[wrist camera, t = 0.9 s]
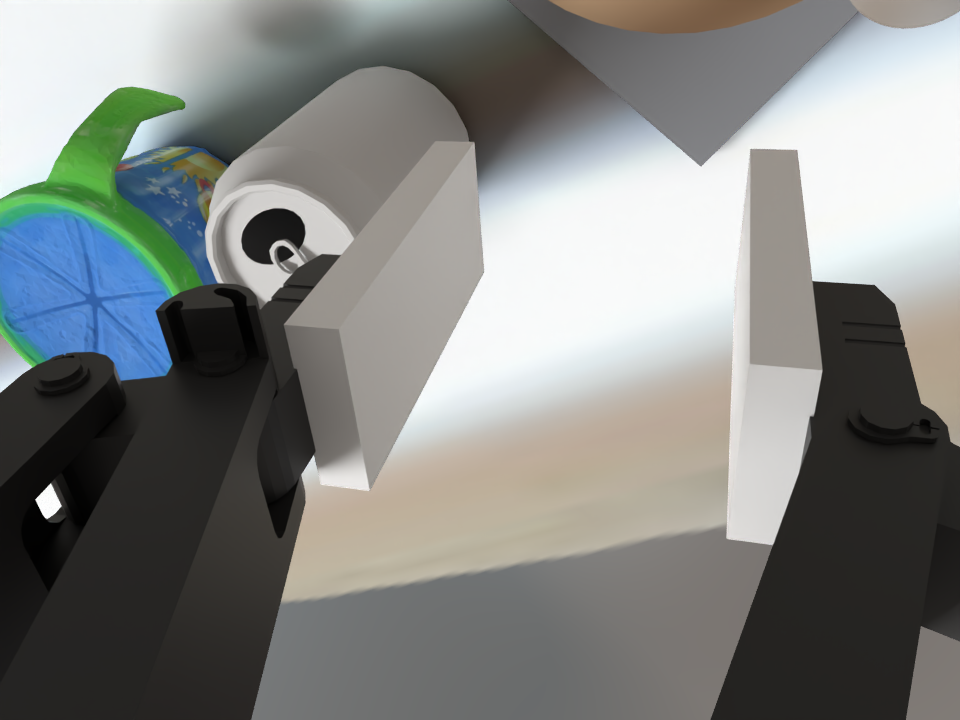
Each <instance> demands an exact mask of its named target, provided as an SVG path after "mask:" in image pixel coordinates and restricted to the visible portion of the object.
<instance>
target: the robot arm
mask: <svg viewBox="0 0 960 720" xmlns="http://www.w3.org/2000/svg"><path fill="white" fill-rule="evenodd" d="M483 273H484V264H483V250H482V237H481V224H480V210H479V197H478V183H477V170H476V157H475V143H474V142H453V141H435V142H434V144H433V145H432V146H431V147H430V148H429V150H428V151H427V152H426V153H425V154H424V156H423V157H422V158H421V159H420V160H419V162H418V163H417V164H416V165H415V167H414V168H413V169H412V170H411V171H410V173H409V174H408V175H407V176H406V177H405V179H404V180H403V181H402V182H401V183H400V185H399V186H398V187H397V188H396V189H395V191H394V192H393V193H392V194H391V196H390V197H389V198H388V199H387V200H386V202H385V203H384V204H383V205H382V206H381V208H380V209H379V210H378V211H377V212H376V214H375V215H374V216H373V217H372V219H371V220H370V221H369V222H368V223H367V225H366V226H365V227H364V228H363V229H362V231H361V232H360V233H359V234H358V235H357V237H356V238H355V239H354V240H353V241H352V243H351V244H350V245H349V246H348V248H347V249H346V250H345V251H344V252H343V254H342V255H333V254H321V255H319V256H317V257H316V258H314V259H312V260H310V261H309V262H307V263H305V264H303V265H302V266H300V267H298V268H297V269H296V270H295V271H294V272H293V274H292V275H291V276H290V277H289V278H288V279H287V280H286V281H285V283H284V284H283V287H280V288H279V289H278V290H277V292H276V293H275V294H274V295H273V296H272V297H271V301H268V302H267V303H266V304H265V305H264V306H263V307H262V308H261V309H260V308H259V304H258V300H257V296H256V295H255V294H254V293H253V291H252V290H251V289H250V288H247V287H244V286H241V285H238V284H227V283H217V284H210V285H203V286H198V287H195V288H192V289H189V290H186V291H183V292H180V293H178V294H177V295H175V296H173V297H171V298H169V299H168V300H166V301H165V302H164V303H163V304H162V305H161V306H160V307H159V308H158V309H157V310H156V311H155V312H156V315H157V318H158V321H159V324H160V327H161V330H162V333H163V336H164V339H165V342H166V345H167V348H168V351H169V355H170V358H171V361H172V365H171V367H170V369H169V371H168V373H167V375H166V376H159V377H150V378H141V379H131V380H122V381H121V380H120V377H119V375H118V372H117V369H116V367H115V364H114V362H113V361H112V360H111V359H110V358H109V357H108V356H107V355H103V354H99V353H96V352H72V353H66V355H64V354H61V355H58V356H54V357H52V358H51V359H49V360H47V361H45V362H42V363H40V364H37V365H36V366H34V367H33V368H31V369H30V370H28V371H27V372H25V373H24V374H22V375H21V376H20V377H19V378H17V379H16V380H15V381H14V382H13V383H12V384H10V385H9V386H8V387H7V388H6V389H5V390H3V391H2V392H1V393H0V720H251V718H252V714H253V710H254V706H255V701H256V698H257V694H258V690H259V686H260V682H261V678H262V674H263V670H264V665H265V661H266V658H267V654H268V650H269V646H270V642H271V638H272V633H273V630H274V626H275V622H276V618H277V614H278V610H279V606H280V602H281V598H282V594H283V590H284V586H285V582H286V578H287V574H288V570H289V566H290V562H291V558H292V554H293V550H294V546H295V542H296V538H297V534H298V530H299V526H300V522H301V518H302V514H303V510H304V506H305V489H304V485H303V481H302V477H301V474H302V473H303V471H304V469H305V468H306V466H307V465H308V463H309V461H310V460H311V458H312V457H313V455H314V457H315V461H316V465H317V470H318V474H319V478H320V483H321V485H329V486H336V487H344V488H351V489H359V490H366V491H370V490H371V488H372V486H373V484H374V482H375V480H376V478H377V476H378V474H379V472H380V470H381V468H382V467H383V465H384V463H385V461H386V459H387V457H388V455H389V453H390V451H391V449H392V447H393V445H394V444H395V442H396V440H397V438H398V436H399V434H400V432H401V430H402V428H403V426H404V424H405V422H406V421H407V419H408V417H409V415H410V413H411V411H412V409H413V407H414V405H415V403H416V401H417V399H418V398H419V396H420V394H421V392H422V390H423V388H424V386H425V384H426V382H427V380H428V378H429V376H430V375H431V373H432V371H433V369H434V367H435V365H436V363H437V361H438V359H439V357H440V355H441V353H442V352H443V350H444V348H445V346H446V344H447V342H448V340H449V338H450V336H451V334H452V332H453V330H454V329H455V327H456V325H457V323H458V321H459V319H460V317H461V315H462V313H463V311H464V309H465V307H466V306H467V304H468V302H469V300H470V298H471V296H472V294H473V292H474V290H475V288H476V286H477V284H478V283H479V281H480V279H481V277H482V275H483ZM900 327H901V325H900V321H899V317H898V313H897V310H896V306H895V304H894V303H893V302H892V301H891V300H890V299H889V298H888V297H887V296H886V295H885V294H883V293H882V292H881V291H880V290H879V289H878V288H877V287H876V286H875V285H864V284H848V283H831V282H815V281H812V274H811V265H810V257H809V248H808V239H807V231H806V222H805V213H804V204H803V196H802V187H801V178H800V170H799V161H798V152H797V150H773V149H750V158H749V167H748V176H747V184H746V193H745V202H744V211H743V220H742V229H741V237H740V246H739V255H738V264H737V273H736V282H735V297H734V328H733V358H732V389H731V420H730V450H729V481H728V512H727V539H732V540H740V541H748V542H755V543H762V544H770V545H773V547H772V549H771V552H770V555H769V558H768V561H767V564H766V566H765V569H764V572H763V575H762V577H761V580H760V583H759V586H758V589H757V591H756V594H755V597H754V600H753V603H752V605H751V608H750V611H749V614H748V617H747V619H746V622H745V625H744V628H743V631H742V634H741V636H740V639H739V642H738V645H737V647H736V650H735V653H734V656H733V659H732V661H731V664H730V667H729V670H728V673H727V676H726V678H725V681H724V684H723V687H722V689H721V692H720V695H719V698H718V701H717V703H716V706H715V709H714V712H713V715H712V717H711V720H906V715H907V708H908V702H909V696H910V690H911V684H912V677H913V671H914V664H915V658H916V652H917V646H918V639H919V634H920V627H921V626H923V627H925V628H927V629H930V630H933V631H935V632H938V633H940V634H943V635H945V636H948V637H950V638H953V639H955V640H958V641H960V447H959V446H957V445H955V444H953V443H951V442H950V437H949V432H948V427H947V425H946V424H945V423H944V422H943V421H942V419H941V418H940V417H939V416H938V415H937V414H936V413H935V412H934V411H933V410H931V409H929V408H928V407H926V406H924V405H923V404H921V401H920V397H919V394H918V390H917V386H916V382H915V378H914V374H913V371H912V367H911V363H910V359H909V355H908V352H907V348H906V347H905V340H904V336H903V332H902V330H900ZM50 483H51V484H52V486H53V488H54V491H55V493H56V495H57V497H58V499H59V501H60V503H61V505H62V507H61V508H60V509H59V510H58V511H57V512H56V513H55V514H54V515H53V516H51V517H50V518H48V519H46V518H45V517H44V516H43V515H42V513H41V511H40V509H39V507H38V505H37V502H36V500H35V499H36V498H37V497H38V496H39V495H40V494H41V493H42V492H43V491H44V490H45V489H46V488H47V487H48V485H49V484H50Z"/></svg>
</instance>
